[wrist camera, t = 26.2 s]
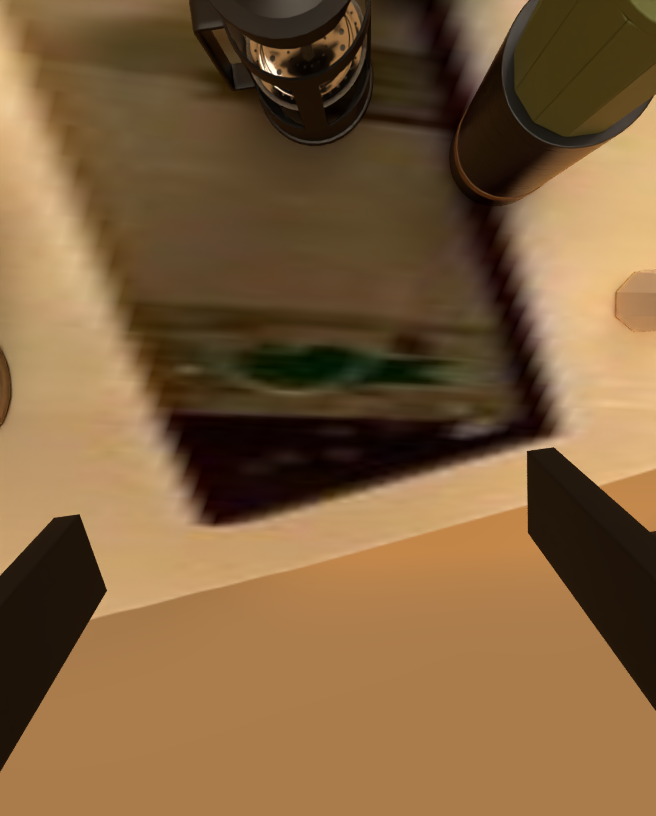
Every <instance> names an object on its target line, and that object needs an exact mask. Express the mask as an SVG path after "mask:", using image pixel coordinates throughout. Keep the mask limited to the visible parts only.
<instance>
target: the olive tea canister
mask: <svg viewBox="0 0 656 816" xmlns="http://www.w3.org/2000/svg"><path fill="white" fill-rule="evenodd" d="M514 90H515V92H516V94H517V96H518V97H519V99H520V101H521V103H522V104H523V106H524V108H525V109H526V111H527V113H528V114H529V116H530V118H531V119H532V121H534V123H536V124H538V125H540V126H542V127H544V128H546V129H548V130H550V131H552V132H554V133H557V134H559V135H561V136H563V137H573V136H581V135H589V134H597V133H601V132H604V131H605V130H607V129H608V128H609V127H611V126H612V125H614V124H615V123H616V122H618V121H619V120H621V119H622V118H623V117H625V116H626V115H628V114H629V113H630V112H632V111H633V110H635V109H636V108H637V107H639V106H640V105H642V104H643V103H644V102H646V101H647V100H649V99H650V98H651V97H653V96H654V95H656V0H539V2H538V3H537V5H536V7H535V9H534V10H533V12H532V14H531V16H530V18H529V20H528V22H527V24H526V26H525V28H524V30H523V33H522V35H521V37H520V39H519V41H518V43H517V45H516V47H515V51H514Z"/></svg>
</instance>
